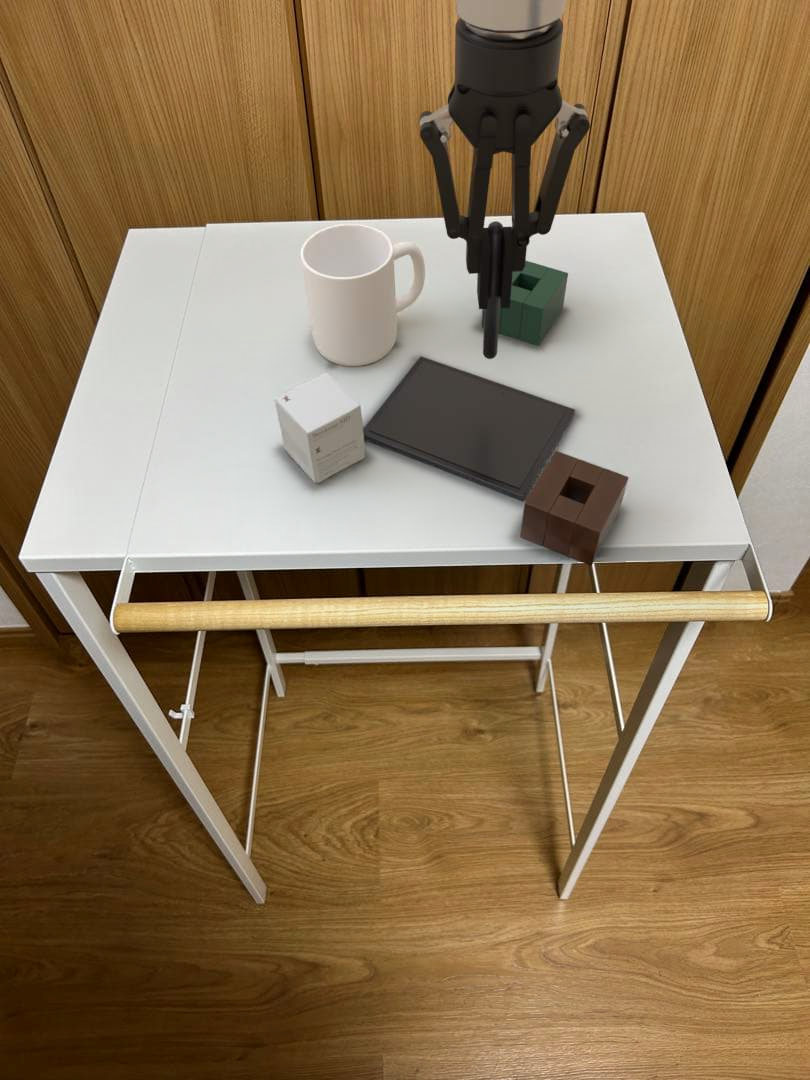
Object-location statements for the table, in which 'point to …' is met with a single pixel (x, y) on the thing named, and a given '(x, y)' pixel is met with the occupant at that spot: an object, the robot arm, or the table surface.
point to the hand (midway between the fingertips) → (493, 298)
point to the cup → (356, 291)
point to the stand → (533, 303)
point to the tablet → (469, 426)
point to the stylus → (493, 291)
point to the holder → (573, 507)
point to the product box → (321, 427)
